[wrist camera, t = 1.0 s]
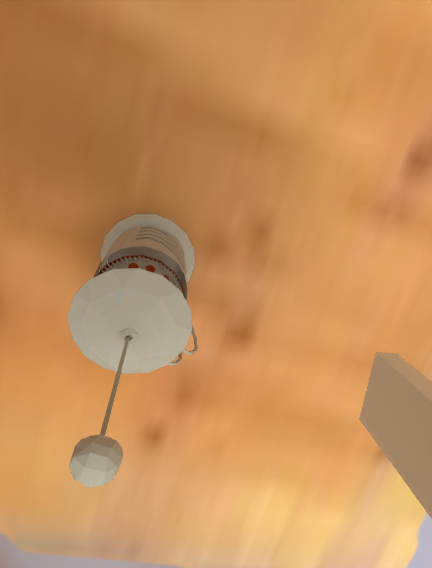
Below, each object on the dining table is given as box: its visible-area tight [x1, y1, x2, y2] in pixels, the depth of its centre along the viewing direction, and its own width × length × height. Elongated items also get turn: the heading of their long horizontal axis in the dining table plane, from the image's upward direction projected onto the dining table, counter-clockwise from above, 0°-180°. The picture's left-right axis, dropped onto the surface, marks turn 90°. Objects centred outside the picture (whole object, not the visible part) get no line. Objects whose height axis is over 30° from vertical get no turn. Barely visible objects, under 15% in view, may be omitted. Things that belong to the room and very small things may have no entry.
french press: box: [68, 214, 197, 488], centre depth 24 cm, size 10×12×25 cm
